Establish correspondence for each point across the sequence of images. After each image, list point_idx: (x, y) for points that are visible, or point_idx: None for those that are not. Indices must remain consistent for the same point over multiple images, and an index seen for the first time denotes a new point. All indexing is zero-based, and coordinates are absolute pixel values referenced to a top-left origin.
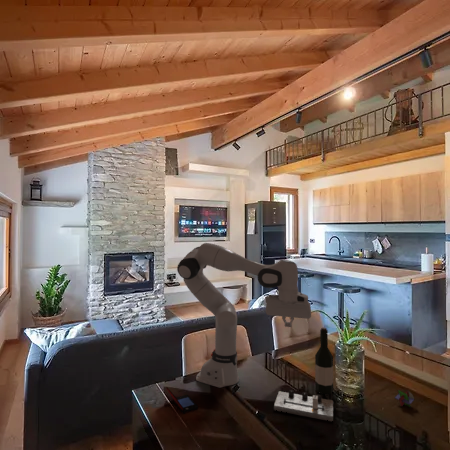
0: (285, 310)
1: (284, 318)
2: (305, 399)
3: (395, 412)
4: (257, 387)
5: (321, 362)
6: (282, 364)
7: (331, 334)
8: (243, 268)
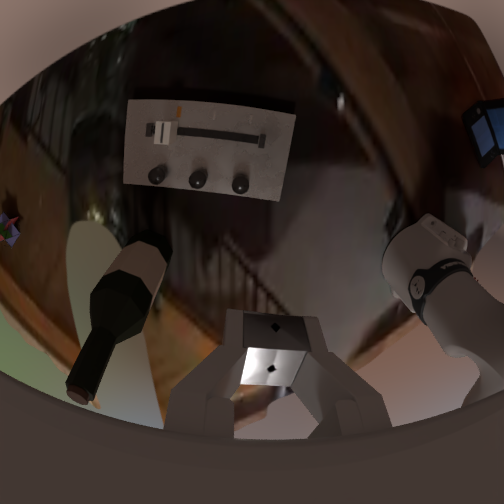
0: None
1: (348, 406)
2: (197, 168)
3: (24, 192)
4: (338, 231)
5: (125, 283)
6: None
7: None
8: None
